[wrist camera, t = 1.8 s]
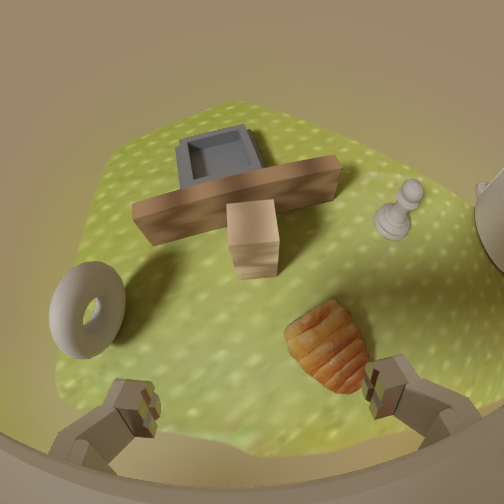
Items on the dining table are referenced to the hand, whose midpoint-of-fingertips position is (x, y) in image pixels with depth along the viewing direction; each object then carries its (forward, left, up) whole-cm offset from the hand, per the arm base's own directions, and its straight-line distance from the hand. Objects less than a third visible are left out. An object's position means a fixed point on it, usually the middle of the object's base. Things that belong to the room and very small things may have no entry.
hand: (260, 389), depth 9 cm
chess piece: (-19, -12, -17) cm, 29 cm away
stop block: (-2, -12, -17) cm, 21 cm away
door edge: (-2, -18, -17) cm, 25 cm away
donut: (+15, -9, -17) cm, 24 cm away
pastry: (-7, -2, -17) cm, 19 cm away
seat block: (-1, -26, -17) cm, 31 cm away
